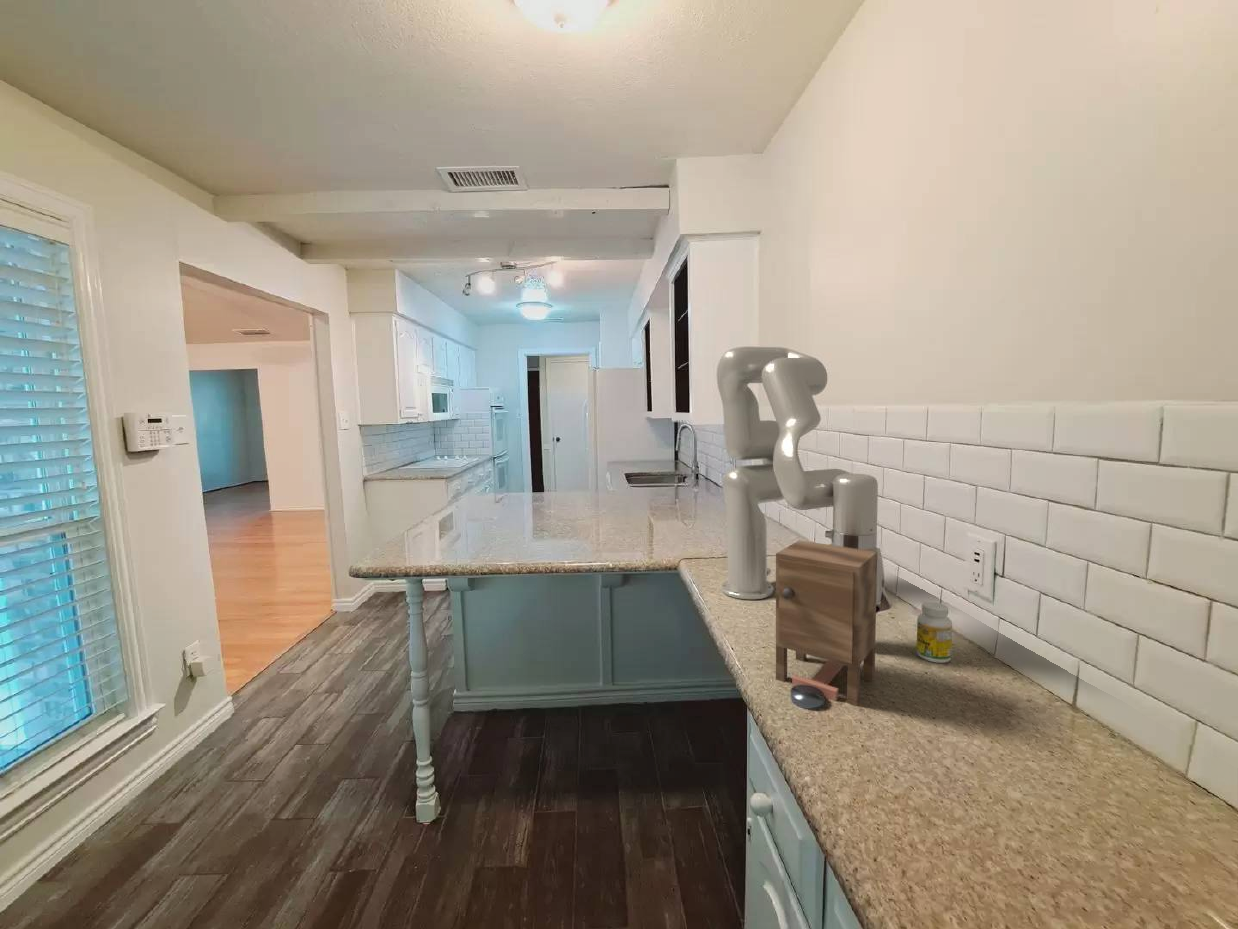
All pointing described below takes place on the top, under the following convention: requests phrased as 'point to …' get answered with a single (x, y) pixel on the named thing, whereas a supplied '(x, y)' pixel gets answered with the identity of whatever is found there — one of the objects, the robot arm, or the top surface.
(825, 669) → the rake
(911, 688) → the top surface
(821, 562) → the walnut cabinet
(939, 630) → the supplement bottle
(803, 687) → the steel token
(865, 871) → the top surface
